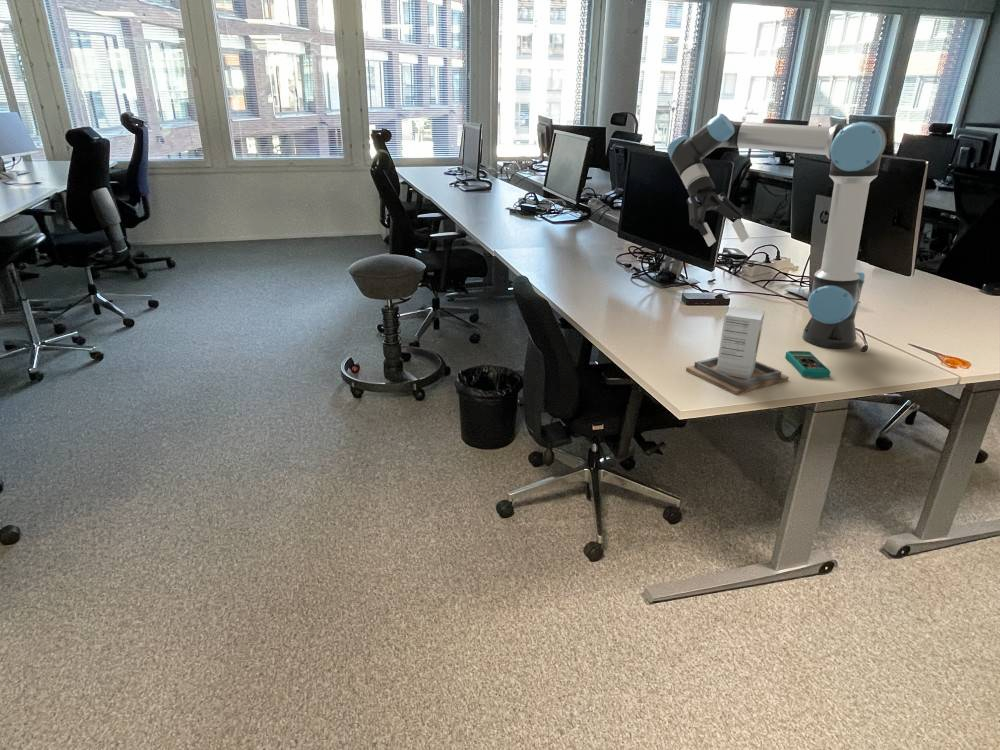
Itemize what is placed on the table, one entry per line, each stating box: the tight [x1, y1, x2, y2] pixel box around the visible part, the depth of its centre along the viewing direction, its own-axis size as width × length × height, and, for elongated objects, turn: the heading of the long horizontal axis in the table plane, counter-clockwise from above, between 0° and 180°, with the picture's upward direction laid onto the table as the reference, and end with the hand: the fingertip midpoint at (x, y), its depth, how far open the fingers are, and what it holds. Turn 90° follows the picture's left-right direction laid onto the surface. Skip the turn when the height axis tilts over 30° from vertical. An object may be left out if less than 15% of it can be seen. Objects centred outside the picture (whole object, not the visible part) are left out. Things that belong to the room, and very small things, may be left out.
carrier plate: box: [685, 356, 790, 395], centre depth 174 cm, size 20×18×2 cm
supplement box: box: [716, 306, 765, 379], centre depth 172 cm, size 10×9×17 cm
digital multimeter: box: [784, 350, 831, 379], centre depth 180 cm, size 7×15×3 cm, turn 176°
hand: (729, 241), depth 186 cm, fingers open, 13 cm apart
